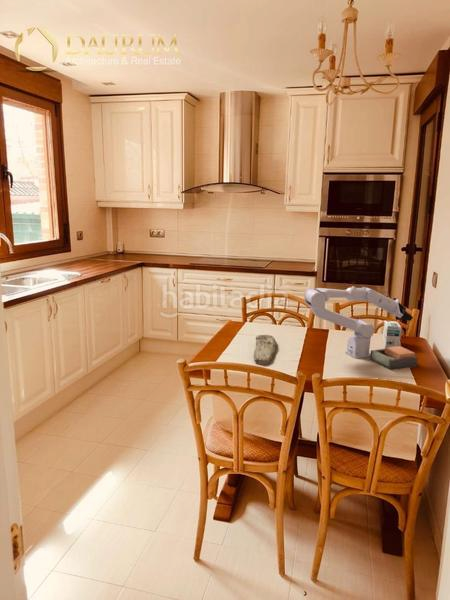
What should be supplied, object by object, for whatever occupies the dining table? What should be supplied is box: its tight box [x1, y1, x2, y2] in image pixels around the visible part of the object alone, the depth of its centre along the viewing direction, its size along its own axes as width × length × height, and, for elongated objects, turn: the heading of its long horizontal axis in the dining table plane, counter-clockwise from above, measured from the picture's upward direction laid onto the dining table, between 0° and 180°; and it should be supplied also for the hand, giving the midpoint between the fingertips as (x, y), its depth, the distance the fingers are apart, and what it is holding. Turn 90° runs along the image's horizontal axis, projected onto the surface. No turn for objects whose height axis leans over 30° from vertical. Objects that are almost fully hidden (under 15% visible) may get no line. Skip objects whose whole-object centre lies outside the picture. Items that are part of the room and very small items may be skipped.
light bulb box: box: [382, 320, 403, 348], centre depth 211 cm, size 11×7×11 cm, turn 168°
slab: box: [384, 345, 416, 359], centre depth 187 cm, size 8×9×2 cm
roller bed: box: [369, 348, 419, 371], centre depth 186 cm, size 14×13×5 cm
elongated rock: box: [253, 334, 277, 366], centre depth 196 cm, size 35×5×10 cm
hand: (408, 314), depth 196 cm, fingers open, 7 cm apart
